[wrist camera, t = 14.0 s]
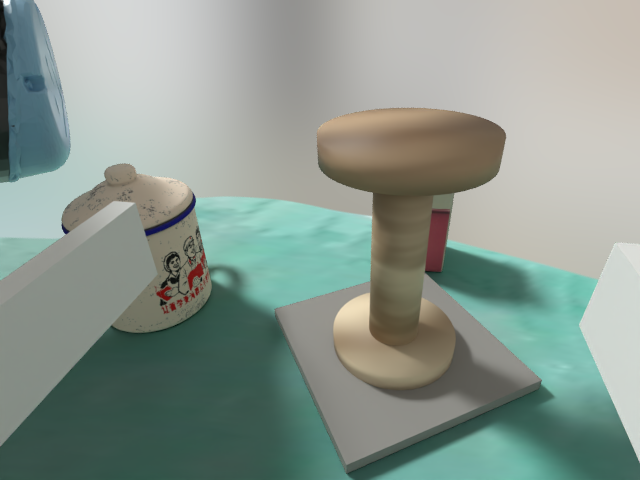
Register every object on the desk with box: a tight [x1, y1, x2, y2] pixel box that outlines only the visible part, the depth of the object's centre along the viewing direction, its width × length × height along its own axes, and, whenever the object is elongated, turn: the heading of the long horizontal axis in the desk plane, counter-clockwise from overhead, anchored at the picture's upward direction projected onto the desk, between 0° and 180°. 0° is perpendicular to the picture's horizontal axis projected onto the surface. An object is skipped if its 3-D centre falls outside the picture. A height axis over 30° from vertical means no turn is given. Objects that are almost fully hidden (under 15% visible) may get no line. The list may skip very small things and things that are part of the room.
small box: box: [425, 193, 454, 272], centre depth 35 cm, size 5×4×8 cm
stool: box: [317, 108, 506, 390], centre depth 24 cm, size 9×9×14 cm
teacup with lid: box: [62, 164, 212, 333], centre depth 32 cm, size 12×9×12 cm
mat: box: [275, 273, 542, 474], centre depth 28 cm, size 13×13×1 cm
